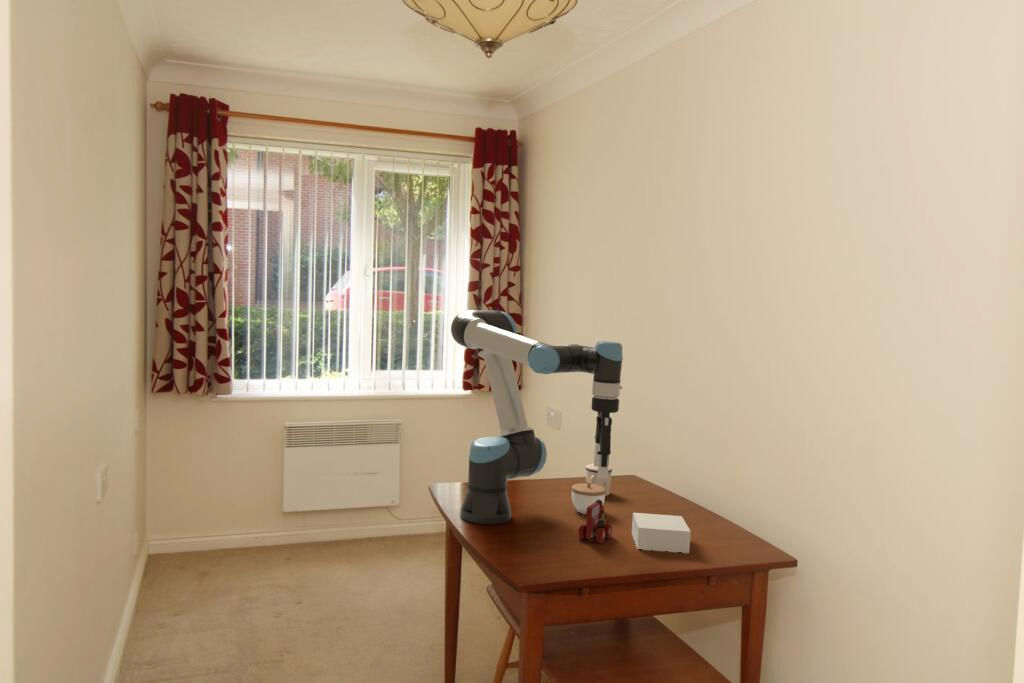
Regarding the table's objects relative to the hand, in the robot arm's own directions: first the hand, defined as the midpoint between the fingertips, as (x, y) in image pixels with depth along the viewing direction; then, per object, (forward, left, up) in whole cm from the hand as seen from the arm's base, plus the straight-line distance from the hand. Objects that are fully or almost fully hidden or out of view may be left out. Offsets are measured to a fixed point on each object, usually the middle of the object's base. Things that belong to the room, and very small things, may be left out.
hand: (600, 472), depth 210 cm
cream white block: (+18, -1, -19) cm, 26 cm away
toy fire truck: (0, -1, -19) cm, 19 cm away
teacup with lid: (+3, +46, -19) cm, 50 cm away
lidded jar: (-1, +24, -19) cm, 31 cm away
